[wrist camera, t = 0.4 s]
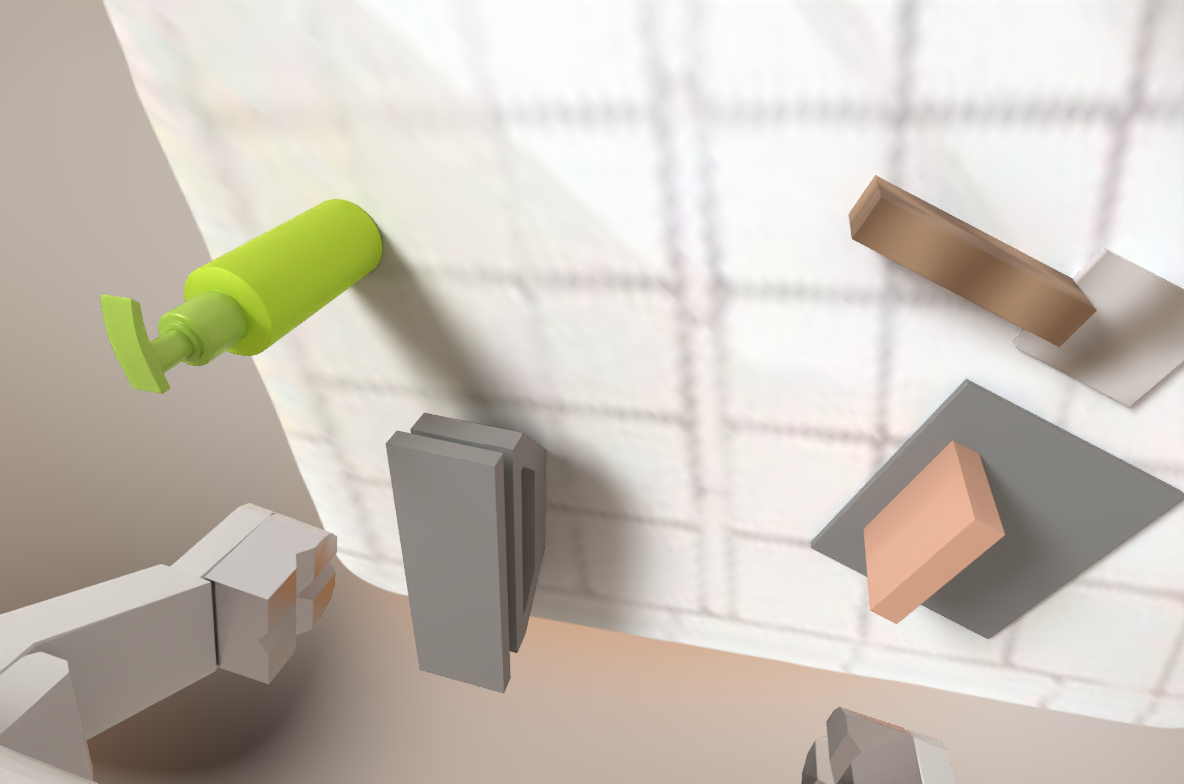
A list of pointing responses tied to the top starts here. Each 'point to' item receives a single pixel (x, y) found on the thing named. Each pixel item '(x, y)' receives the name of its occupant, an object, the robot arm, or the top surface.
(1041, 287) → the turner
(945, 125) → the top surface
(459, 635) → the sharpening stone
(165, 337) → the soap dispenser
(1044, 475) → the mat
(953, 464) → the tile
